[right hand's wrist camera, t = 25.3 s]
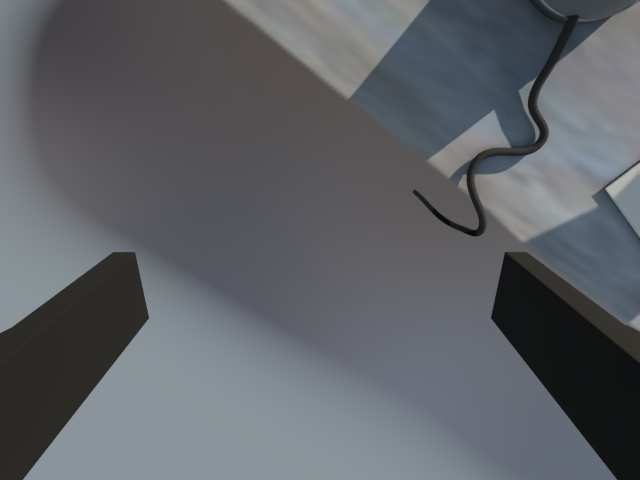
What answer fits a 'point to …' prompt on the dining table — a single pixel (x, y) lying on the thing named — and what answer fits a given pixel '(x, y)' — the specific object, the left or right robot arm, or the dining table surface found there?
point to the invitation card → (628, 196)
